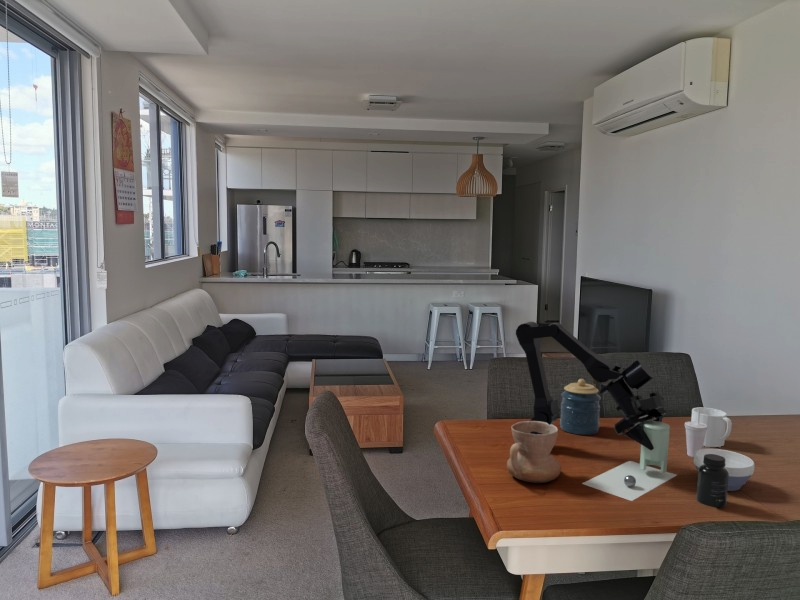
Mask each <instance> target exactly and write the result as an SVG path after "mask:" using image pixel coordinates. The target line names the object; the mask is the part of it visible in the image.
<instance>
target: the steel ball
mask: <svg viewBox="0 0 800 600" xmlns="http://www.w3.org/2000/svg"><path fill="white" fill-rule="evenodd" d="M624 483H625V485H626V486H628V487H633V486H635V484H636V479H635V478H634V477H633V476H631V475H628V476H626V477H625V478H624Z"/></svg>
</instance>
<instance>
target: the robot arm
mask: <svg viewBox="0 0 800 600" xmlns="http://www.w3.org/2000/svg"><path fill="white" fill-rule="evenodd" d="M515 336H516V339H517V341H518V343H519V346H520V347H521V348H522V350H523V352H524V353H525V358H526V363H527V366H528V371H529V377H530V380H531V381H530V382H531V386H532V391H533V395H534V402H533V409H532V410H533V417H532V418H531V419H529V421H540V422H545V423H548V424H549V425H551V424H552V425H553V423H555V422H556V421H558V419H559V417H560V416H559V415H560V413H561V408H559V400H558V398H554V399H553V397H552V396H551V394H550V391H549V386H548V381H547V377H546V372H545V368H544V362H543V357H542V353H541V343H542V338H553V340H555V341H556V342H557V343H558V344H559V345H561V346H562V348H565V350H567V351H568V352H569V353H570V354H572V355H573V356H574V357H575V358H576V359H577V360H578V361H579V362H581V364H582V365H583V367H584V369H585V370H586V372H587V373H588V374H589V375H590V376H591V378H592V379H593V380H594V381H596V382H598V383H602V384H601V385H600V387H601V388H600V390H599V394H601V395H604V394H607V393H608V394H609V395H610V397H611V399H613V401H614V403H615V404H616V405H617V407H615V409H616V410H617V411H618V412H619V411H621V412H622V414H623V415H624V417H623V418H621V419H620V420H619V421H618V422H617V423H615V424H614V426H613V429H614V431H615V432H616V434H617V436H619V435H623V436H624V437H628V438H630V439H631V440H633V441H635V442H636V443H638V444H640V446H641V445H643V446H645V447H646V448H648V449H649V450H653V449H654V447H653V445H652V443H651V441H650V440H649V438H648V436H647V435H646V433H645V431H644V421H658V422H662V421H663V419H664V416H665V415H666V414H667V411H666V410H665V408H664V407H663V406H664V404H663V401H664V397H663V396H662V394H661V393H659V392H658V391H655V392H651V393H649V396H648V397H645V398H643V397H642V396H641V395H639V394H638V395H635V393H634V391H633V389H635V390H640V389H642V388H643V387H644V386H646V385H647V384H648V383H650V382H651V381H653V380H654V379H655V378H656V376H655V374H654V372H653V370H652V369H651V368H650V366H648V365H647V364H645V363H644V362H642V361H641V360H640V359H636V360H635V361H634V362H632V364H631V365H629V366H627V368H625V367H622V366H619V365H616V364H615V363H614V362H612V361H611V360H609V359H607V358H606V357H604V356H603V355H600V354H598V353H595V352H594V351H592V350H591V349H590V348H588V347H587V346H586V345H585V344H584V343H583V342H581V341H580V340H579V339H578V338H577V337H575V336H574V335H573V334H572V333H571V332H570V331H568V329H566V328H565V327H564V326H563V325H562V324H561V323H560V322H553V323H537V322H535V321H528V322H525V323H520V325H518V326H517V327H516V329H515ZM610 380H611V381H610ZM608 381H610V382H608ZM607 382H608V383H607ZM603 383H604V384H603ZM530 433H531V434H535V435H536V434H541V433H538V432H534V431H533V432H530Z"/></svg>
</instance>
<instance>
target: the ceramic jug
mask: <svg viewBox="0 0 800 600" xmlns="http://www.w3.org/2000/svg"><path fill="white" fill-rule="evenodd" d="M510 430H511V433H512V438H513V440H514V443H513V444H511V447H510V449H509V458H508V459H507V461H506V469H507V471H508V473H510V476H512V477H514V478H516V479H518V480H519V481H524V482H527V483H533V484H543V483H545V484H546V483H549V482H552V481H554V480H556V479H557V478H559V475H560V474H561V471H562V466H561V463H560V462H559V460H558V459H557V458H556V457H554V456H553V455H551V454H550V453H551V452H552V450H553V448H554V446H555V444H556V441H557V438H558V433H559V430H558V427H557V426H556V425H554V424H553V423H552V424H551V425H549V424H548V423H545V422H540V421H530V420H527V421H526V420H524V421H518V422H516V423H514V424H513V425H511V429H510ZM533 431H534V432H538V433H541V434H536V435H535V434H531V433H530V432H533Z"/></svg>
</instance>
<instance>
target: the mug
mask: <svg viewBox="0 0 800 600" xmlns="http://www.w3.org/2000/svg"><path fill="white" fill-rule="evenodd" d="M698 411H700V420H699V422H700V423H703V424H706V425H707V426H708V428H707V430H706V434H705V439H704V443H703V447H704V446H705V448H710V447H719V448H722V447H721V446H723V447H724V446H725V442H726V441H725V440H726V439H727V438H728V437H730V434H731V431H732V426H733V423H732V420H731V419H730V417H727V415H728V413H727V412H725V411H723V410H720V409H718V408H712V407H700V406H699V407H693V408H692V409H691V421H690V422H697V420H698Z"/></svg>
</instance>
